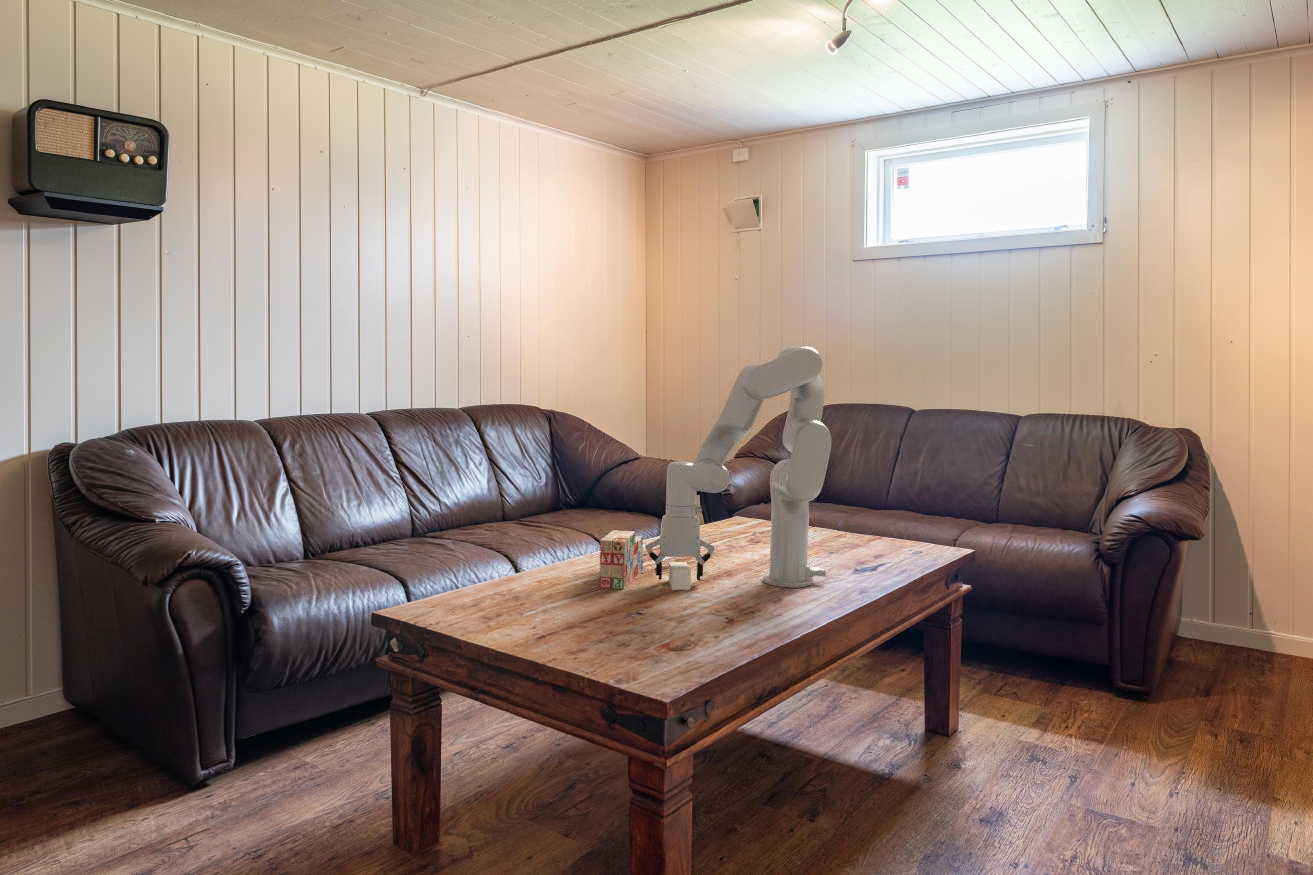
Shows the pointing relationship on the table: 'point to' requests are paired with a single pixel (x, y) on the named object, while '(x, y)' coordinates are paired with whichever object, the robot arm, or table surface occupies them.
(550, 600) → the table surface
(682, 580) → the cream bar block
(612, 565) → the stack of blocks
